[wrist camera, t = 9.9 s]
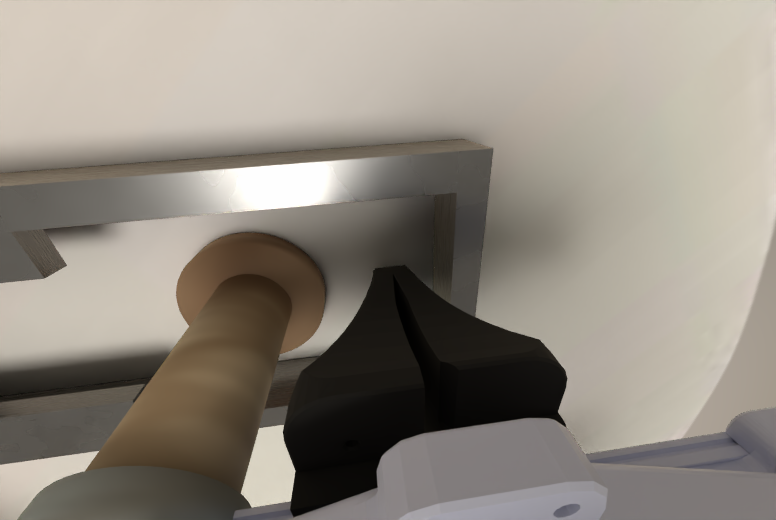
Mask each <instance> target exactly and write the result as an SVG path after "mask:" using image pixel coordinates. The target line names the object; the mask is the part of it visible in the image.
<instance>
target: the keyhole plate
mask: <svg viewBox="0 0 776 520" xmlns="http://www.w3.org/2000/svg"><path fill="white" fill-rule="evenodd" d="M492 155H493V148H490V147H487V146H484V145H481V144H477V143H474V142H471V141H468V140H465V139H455V140H441V141H428V142H414V143H401V144H387V145H374V146H361V147H347V148H334V149H320V150H307V151H293V152H280V153H266V154H253V155H239V156H226V157H212V158H199V159H186V160H172V161H159V162H145V163H132V164H118V165H105V166H91V167H78V168H64V169H51V170H37V171H24V172H11V173H0V283H4V282H15V281H25V280H35V279H44V278H46V277H48V276H50V275H51V274H53V273H55V272H57V271H58V270H60V269H62V268H64V267H65V266H67V265H66V263H65V262H64V260H63V259H62V257H61V256H60V254H59V253H58V251H57V250H56V248H55V247H54V245H53V244H52V242H51V241H50V239H49V238H48V236H47V234H46V233H45V231H44V230H43V229H49V228H61V227H72V226H84V225H95V224H106V223H118V222H129V221H140V220H152V219H163V218H174V217H186V216H197V215H209V214H220V213H231V212H243V211H254V210H265V209H277V208H288V207H299V206H311V205H322V204H333V203H345V202H356V201H368V200H379V199H390V198H402V197H413V196H424V195H435V211H434V260H433V292H434V293H436V294H437V295H438V296H440V297H441V298H443V299H444V300H445V301H447V302H449V303H450V304H452V305H453V306H455V307H457V308H458V309H460V310H462V311H464V312H466V313H468V314H470V315H472V316H474V317H475V312H476V303H477V294H478V285H479V275H480V266H481V257H482V248H483V238H484V229H485V220H486V211H487V201H488V192H489V183H490V174H491V164H492ZM319 357H320V356H319ZM319 357H311V358H303V359H295V360H287V361H279V362H277V365H276V369H275V372H274V376H273V380H272V383H271V387H270V390H269V394H268V397H267V401H266V405H265V408H264V412H263V415H262V419H261V422H260V426H259V428H263V427H270V426H277V425H284V424H285V419H286V414H287V409H288V405H289V402H290V399H291V396H292V393H293V390H294V387H295V385H296V382H297V380H298V377H299V375H300V373H301V371H302V370H303V369H305V368H306V367H307V366H309V365H310V364H311V363H312V362H314V361H315V360H316V359H317V358H319ZM152 378H153V377H152ZM152 378H144V379H136V380H128V381H121V382H113V383H105V384H97V385H89V386H81V387H73V388H65V389H57V390H49V391H41V392H33V393H25V394H17V395H9V396H1V397H0V465H1V464H8V463H16V462H23V461H30V460H37V459H44V458H51V457H58V456H65V455H72V454H79V453H86V452H93V451H100V450H101V448H102V447H103V446H104V444H105V443H106V441H107V440H108V439H109V437H110V436H111V434H112V433H113V432H114V430H115V429H116V427H117V426H118V425H119V423H120V422H121V421H122V419H123V418H124V416H125V415H126V414H127V412H128V411H129V409H130V408H131V407H132V405H133V404H134V402H135V401H136V400H137V398H138V397H139V396H140V394H141V393H142V391H143V390H144V389H145V387H146V386H147V384H148V383H149V382H150V380H151V379H152Z"/></svg>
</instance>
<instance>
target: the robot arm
mask: <svg viewBox="0 0 776 520" xmlns="http://www.w3.org/2000/svg"><path fill="white" fill-rule="evenodd" d="M566 383H567V376H566V372H565V370H564V368H563V367H562V366H561V365H560V363H559V362H558V361H557V360H556V358H555V357H554V356H553V354H552V353H551V352H550V351H549V350H548V348H547V347H546V346H545V345H544V344H543V343H542V342H541V341H540V340H539V339H535V338H532V337H528V336H525V335H521V334H518V333H515V332H511V331H508V330H505V329H503V328H500V327H497V326H494V325H492V324H489V323H487V322H485V321H482V320H480V319H478V318H476V317H474V316H472V315H470V314H468V313H466V312H464V311H462V310H460V309H458V308H457V307H455V306H453V305H452V304H450V303H449V302H447V301H445V300H444V299H443V298H441V297H440V296H438V295H437V294H436V293H434V292H433V291H432V290H431V289H430V288H428V287H427V286H426V285H425V284H424V283H423V282H422V281H421V280H419V279H418V278H417V277H416V276H415V275H414V274H413V273H412V272H411V271H410V270H409V269H408V268H407V267H406V266H405V265H402V266H392V267H383V268H375V269H374V270H373V277H372V281H371V284H370V287H369V290H368V292H367V295H366V297H365V299H364V301H363V303H362V305H361V307H360V309H359V311H358V312H357V314H356V316H355V317H354V319H353V320H352V322H351V323H350V324H349V326H348V327H347V328H346V330H345V331H344V332H343V333H342V335H341V336H340V337H339V338H338V339H337V340H336V341H335V342H334V343H333V344H332V345H331V346H330V348H329V349H328V350H327V351H326V352H325V353H323V354H322V355H321V356H320V357H319V358H317V359H316V360H315V361H314V362H312V363H311V364H310V365H309V366H307V367H306V368H305V369H303V370H302V371H301V373H300V375H299V377H298V380H297V382H296V385H295V387H294V390H293V393H292V396H291V399H290V402H289V405H288V409H287V414H286V419H285V424H284V430H283V435H284V442H285V444H286V447H287V450H288V452H289V455H290V457H291V460H292V463H293V465H294V468H295V471H296V472H295V479H294V485H293V492H292V499H291V502H285V503H279V504H273V505H266V506H260V507H254V508H248V509H241V510H236V511H235V512H234V516H233V520H776V407H770V408H764V409H757V410H751V411H747V412H743V413H741V414H739V415H738V416H736V417H735V418H734V419H733V420H732V421H731V422H730V423H729V424H728V426H727V428H726V432H721V433H714V434H708V435H702V436H696V437H690V438H683V439H677V440H671V441H665V442H658V443H652V444H646V445H640V446H634V447H627V448H621V449H615V450H609V451H602V452H596V453H590V454H584V452H583V451H582V449H581V448H580V446H579V445H578V443H577V442H576V440H575V439H574V437H573V436H572V434H571V433H570V431H569V430H568V428H566V424H565V422H564V421H563V419H562V418H561V416H560V415H559V413H558V409H559V406H560V403H561V400H562V398H563V395H564V392H565V389H566Z"/></svg>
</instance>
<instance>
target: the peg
mask: <svg viewBox="0 0 776 520" xmlns="http://www.w3.org/2000/svg"><path fill="white" fill-rule="evenodd" d="M176 296H177V303H178V306H179V310H180V312H181V314H182V316H183V318H184V319H185V321H186V322H187V324H188V325H189V328H188V329H187V330H186V332H185V333H184V334H183V336H182V337H181V339H180V340H179V341H178V343H177V344H176V346H175V347H174V348H173V350H172V351H171V353H170V354H169V355H168V357H167V358H166V359H165V361H164V362H163V364H162V365H161V366H160V368H159V369H158V371H157V372H156V373H155V375H154V376H153V378H152V379H151V380H150V382H149V383H148V384H147V386H146V387H145V389H144V390H143V391H142V393H141V394H140V396H139V397H138V398H137V400H136V401H135V402H134V404H133V405H132V407H131V408H130V409H129V411H128V412H127V414H126V415H125V416H124V418H123V419H122V421H121V422H120V423H119V425H118V426H117V427H116V429H115V430H114V432H113V433H112V434H111V436H110V437H109V439H108V440H107V441H106V443H105V444H104V446H103V447H102V448H101V450H100V451H99V452H98V454H97V455H96V457H95V458H94V459H93V461H92V462H91V464H90V465H89V466H88V468H87V469H86V470H85V472H80V473H77V474H74V475H70V476H67V477H64V478H62V479H60V480H58V481H56V482H53V483H52V484H50V485H49V486H47V487H45V488H44V489H43V490H42V491H41V492H39V493H38V494H37V495H36V497H35V498H34V499H33V500H32V502H31V503H30V504H29V505H28V507H27V508H26V509H25V510H24V512H23V513H22V514H21V515H20V517H19V518H18V519H17V520H233V516H234V512H235V511H236V510H241V509H248V508H252V507H251V506H250V504H249V502H248V501H247V500H246V499H245V498H244V496H243V495H241V490H242V487H243V483H244V479H245V476H246V472H247V469H248V465H249V462H250V458H251V454H252V451H253V447H254V444H255V440H256V437H257V433H258V430H259V426H260V422H261V419H262V415H263V412H264V408H265V405H266V401H267V397H268V394H269V390H270V387H271V383H272V380H273V376H274V372H275V369H276V365H277V362H278V358H279V355H280V354H282V353H285V352H288V351H291V350H293V349H295V348H297V347H299V346H300V345H302V344H304V343H305V342H306V341H307V340H309V339H310V338H311V337H312V336H313V334H314V333H315V332H316V330H317V329H318V327H319V325H320V323H321V320H322V317H323V311H324V304H325V296H326V294H325V284H324V280H323V277H322V274H321V272H320V271H319V269H318V267H317V266H316V264H315V263H314V261H313V260H312V259H311V258H310V257H309V256H308V255H307V254H306V253H305V252H303V251H302V250H301V249H300V248H298V247H297V246H295V245H294V244H292V243H290V242H288V241H286V240H284V239H281V238H278V237H276V236H272V235H268V234H262V233H251V232H245V233H236V234H231V235H227V236H224V237H221V238H219V239H217V240H215V241H213V242H211V243H210V244H208V245H207V246H205V247H204V248H203V249H202V250H201V251H200V252H199V253H198V254H197V255H196V256H195V257H194V258H193V259H192V260H191V261H190V262H189V263H188V264H187V265H186V267H185V268H184V269H183V271H182V272H181V275H180V277H179V279H178V283H177V290H176Z"/></svg>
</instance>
